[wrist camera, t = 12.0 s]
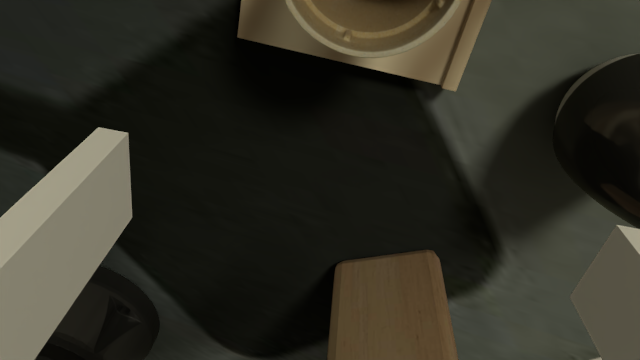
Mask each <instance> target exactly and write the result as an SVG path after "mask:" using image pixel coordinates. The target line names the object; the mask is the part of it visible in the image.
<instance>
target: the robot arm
mask: <svg viewBox="0 0 640 360" xmlns="http://www.w3.org/2000/svg"><path fill="white" fill-rule="evenodd" d="M131 218H132V203H131V182H130V161H129V139H128V133H126V132H120V131H115V130H110V129H104V128H99V127H98V128H97V129H96V130H95V131H94V132H93V133H92V134H91V135H90V136H89V137H87V138H86V139H85V140H84V141H83V142H82V143H81V144H80V145H79V146H78V147H77V148H75V149H74V150H73V151H72V152H71V153H70V154H69V155H68V156H67V157H66V158H65V159H64V160H62V161H61V162H60V163H59V164H58V165H57V166H56V167H55V168H54V169H53V170H52V171H50V172H49V173H48V174H47V175H46V176H45V177H44V178H43V179H42V180H41V181H40V182H38V183H37V184H36V185H35V186H34V187H33V188H32V189H31V190H30V191H29V192H28V193H27V194H25V195H24V196H23V197H22V198H21V199H20V200H19V201H18V202H17V203H16V204H15V205H13V206H12V207H11V208H10V209H9V210H8V211H7V212H6V213H5V214H4V215H3V216H1V217H0V360H143V359H144V358H145V357H146V356H147V354H148V353H149V351H150V350H151V348H152V345H153V343H154V341H155V339H156V337H157V335H158V332H159V317H158V314H157V311H156V309H155V307H154V305H153V304H152V302H151V301H150V299H149V298H148V297H147V296H146V295H145V294H144V293H143V292H142V291H141V290H140V289H139V288H138V287H137V286H136V285H134V284H133V283H132V282H130V281H129V280H127V279H126V278H124V277H122V276H121V275H119V274H117V273H115V272H113V271H110V270H108V269H105V268H102V267H100V266H99V265H100V263H101V262H102V261H103V259H104V258H105V256H106V255H107V253H108V252H109V250H110V249H111V247H112V246H113V245H114V243H115V242H116V240H117V239H118V237H119V236H120V234H121V233H122V231H123V230H124V228H125V227H126V226H127V224H128V223H129V221H130V220H131ZM570 299H571V301H572V302H573V304H574V306H575V308H576V310H577V312H578V314H579V316H580V318H581V320H582V322H583V323H584V325H585V327H586V329H587V331H588V333H589V335H590V337H591V339H592V341H593V343H594V344H595V346H596V348H597V350H598V352H599V354H600V356H601V358H602V360H640V229H636V228H630V227H625V226H620V225H616V227H615V228H614V230H613V231H612V233H611V234H610V236H609V237H608V239H607V240H606V242H605V243H604V245H603V246H602V248H601V249H600V251H599V253H598V254H597V256H596V257H595V259H594V260H593V262H592V263H591V265H590V266H589V268H588V269H587V271H586V272H585V274H584V275H583V277H582V278H581V280H580V281H579V283H578V285H577V286H576V288H575V289H574V291H573V292H572V294H571V295H570Z"/></svg>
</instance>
